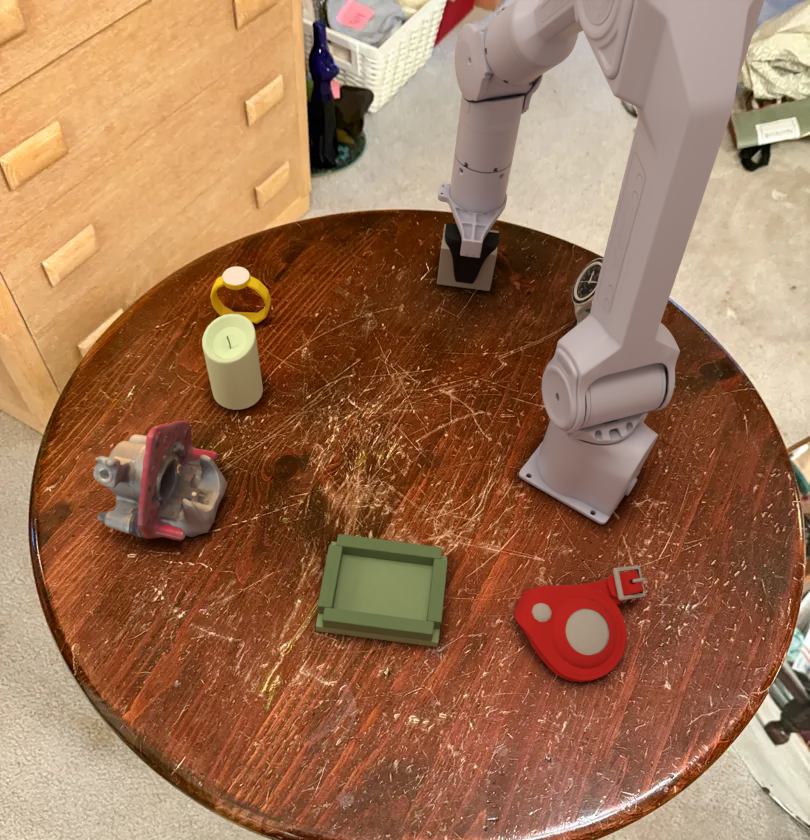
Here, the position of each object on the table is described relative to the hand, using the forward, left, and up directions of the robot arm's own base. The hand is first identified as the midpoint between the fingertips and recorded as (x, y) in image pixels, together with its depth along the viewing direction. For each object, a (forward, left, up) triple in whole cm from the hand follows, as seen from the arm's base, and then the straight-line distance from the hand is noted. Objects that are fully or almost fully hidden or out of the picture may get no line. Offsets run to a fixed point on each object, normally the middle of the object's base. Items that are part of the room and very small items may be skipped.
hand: (466, 265), depth 91 cm
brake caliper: (+5, +42, -2) cm, 43 cm away
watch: (-17, 0, -2) cm, 17 cm away
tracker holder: (-32, +30, -2) cm, 44 cm away
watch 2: (+15, +20, -2) cm, 25 cm away
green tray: (-16, +38, -1) cm, 42 cm away
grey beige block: (0, 0, -1) cm, 1 cm away
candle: (+9, +28, -2) cm, 30 cm away
